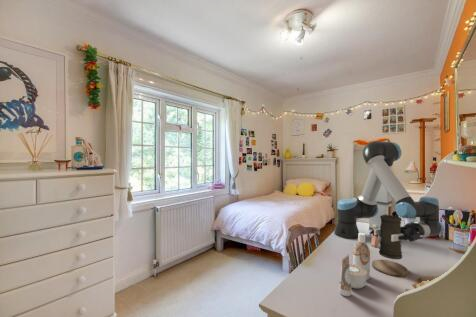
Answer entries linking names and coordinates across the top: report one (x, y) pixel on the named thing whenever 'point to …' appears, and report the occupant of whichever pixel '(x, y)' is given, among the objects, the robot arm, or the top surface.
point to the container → (388, 228)
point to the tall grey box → (381, 207)
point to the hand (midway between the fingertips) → (383, 235)
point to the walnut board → (389, 268)
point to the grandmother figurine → (374, 237)
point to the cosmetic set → (355, 268)
